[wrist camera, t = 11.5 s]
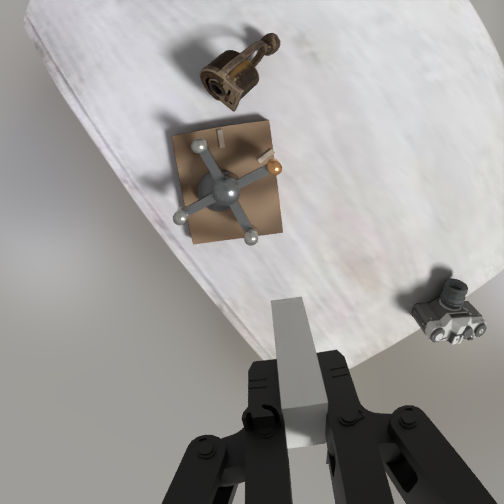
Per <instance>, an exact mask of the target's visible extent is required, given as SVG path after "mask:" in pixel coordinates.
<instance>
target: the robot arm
mask: <svg viewBox="0 0 504 504" xmlns="http://www.w3.org/2000/svg"><path fill="white" fill-rule="evenodd" d="M271 306H272V316H273V326H274V336H275V346H276V356H277V359H273V360H264V361H256V362H253V363H252V365H251V367H250V369H249V371H248V381H249V382H248V407H247V409H246V410H245V411H244V412H243V415H242V421H243V425H244V428H243V429H242V430H240V431H239V432H238V433H236V434H233V435H231V436H228V437H224V438H222V439H220V438H219V437H216V436H214V435H203V436H199V437H197V438H195V439H194V440H192V441H191V443H190V444H189V445H188V448H187V450H186V452H185V454H184V456H183V458H182V461H181V463H180V465H179V467H178V470H177V472H176V474H175V476H174V478H173V480H172V482H171V485H170V487H169V489H168V491H167V493H166V496H165V498H164V500H163V502H162V504H232V502H233V499H234V496H235V493H236V490H237V486H238V484H239V483H241V482H245V504H293V502H292V490H291V481H290V480H291V479H290V469H289V459H288V448H296V447H304V446H311V445H317V444H324V443H326V442H327V448H328V451H327V461H326V464H329V469H330V474H331V480H332V486H333V492H334V498H335V504H394V501H393V498H392V494H391V490H390V487H389V483H388V480H387V476H386V473H387V474H388V476H389V477H390V479H391V481H392V482H393V484H394V485H395V487H396V489H397V490H398V492H399V493H400V495H401V496H402V498H403V499H404V501H405V503H406V504H497V503H496V501H495V500H494V499H493V497H492V496H491V495H490V494H489V492H488V491H487V490H486V488H484V486H483V485H482V483H481V482H480V481H479V480H478V478H477V477H476V476H475V474H474V473H473V472H472V471H471V469H470V468H469V467H468V466H467V464H466V463H465V462H464V461H463V459H462V458H461V457H460V456H459V455H458V453H457V452H456V451H455V449H454V448H453V447H452V446H451V445H450V443H449V442H448V441H447V440H446V438H445V437H444V436H443V435H442V434H441V432H440V431H439V430H438V429H437V427H436V426H435V425H434V424H433V423H432V421H431V420H430V419H429V418H428V417H427V416H426V414H425V413H424V412H423V411H422V410H421V409H420V408H418V407H415V406H409V405H405V406H402V407H399V408H398V409H397V410H395V411H394V412H393V414H381V413H373V412H370V411H368V410H366V409H365V408H364V407H363V406H362V405H361V404H360V402H359V399H358V396H357V393H356V390H355V387H354V384H353V381H352V378H351V375H350V372H349V369H348V366H347V363H346V360H345V357H344V356H343V355H342V354H341V353H340V352H339V351H338V350H332V351H326V352H319V353H316V350H315V346H314V342H313V338H312V334H311V330H310V326H309V323H308V319H307V315H306V311H305V307H304V303H303V300H302V297H296V298H289V299H281V300H273V301H271ZM385 471H386V472H385Z"/></svg>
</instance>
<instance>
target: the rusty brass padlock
mask: <svg viewBox="0 0 504 504" xmlns="http://www.w3.org/2000/svg"><path fill="white" fill-rule="evenodd" d="M279 47H280V40H279V38H278V36H277V35H276V34H274V33H269V34H266V35H265V36H264V37H263V38H262V39H261V41H258V42H256V43H254V44H252V45H251V46H249V47H248V48H246V49H245V50H244V51H242V52H241V53H239V52H236V51H233V50H227V51H225V52H224V53H222V54H221V55H219V56H218V57H217V58H216V59H215V60H213V61H212V62H211V63H210V64H208V65H207V66H206V67H204V68H203V69H202V70H201V72H200V78H201V81H202V83H203V84H204V86H205V88H206V89H207V91H208V92H209V94H210V95H212V96H213V98H215V99H216V100H220V101H221V102H222V103H224V104H225V105H226V106H227V107H228V108H230V109H231V110H232V111H233V112H234V111H235V110H236V108H237V106H238V104H239V101H240V99H241V98H243V97H244V96H245V95H246V94H247V93H248V92H249V91H250V90H251V89H252V88H253V87H254V86H255V85H257V83H258V81H259V75H258V72H257V70H256V68H255V66H256V65H257V64H258V63H259V62H260V61H261V59H262V58H263V56H264V55H266V56H269V55H271V54H273V53H275V52H276V51H277V50H278V49H279ZM258 48H260V49H259V51H258V52H257V54H256V56H255V57H254V58H253V59H252V61H251V62H250V60H249V59H248V58H247V57H249V56H250V55H251V54H252V53H254V52H255V51H256V50H257V49H258Z"/></svg>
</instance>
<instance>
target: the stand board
mask: <svg viewBox="0 0 504 504" xmlns="http://www.w3.org/2000/svg"><path fill="white" fill-rule="evenodd" d="M199 138H205V139H207V140H208V143H209V146H208V148H209V150H210V151H211V153H212V155H213V157H214V158H215V160H216V162H217V164H218V165H219V167H220V169H224V170H227V171H229V172H231V173H234V174H236V175H237V176H238V177H239V178H240V177H242V176H244V175H245V174H247V173H249V172H251V171H253V170H255V169H257V168H259V167H261V166H263V165H265V164H266V163H267V161H268V160H269V159H272V158H274V153H275V152H274V151H273V146H272V138H271V131H270V123H269V120H267V121H259V122H251V123H244V124H237V125H230V126H224V127H218V128H212V129H206V130H200V131H195V132H190V133H184V134H179V135H175V136H172V140H173V146H174V151H175V157H176V162H177V168H178V173H179V178H180V184H181V189H182V194H183V199H184V204H185V206H188V205H190V204H192V203H193V202H195V201H197V200H199V196H198V185H199V183H200V181H201V179H202V178H203V177H204V176H205V175H206V174H207V173H208V172H210V171H209V169H208V167H207V166H206V164H205V162H204V161H203V159H202V157H201V155H200V154H199V153H195V152H193V150H192V149H191V144H192V142H193V141H194V140H196V139H199ZM238 201H239V203H240V204H241V206H242V208H243V210H244V212H245V213H246V215H247V217H248V219H249V221H250V222H251V224H252V225H254V226H255V227H256V228H257V231H258V236H260V235H268V234H276V233H283V229H282V220H281V211H280V203H279V194H278V186H277V178H276V175H271V174H268V175H266V176H264V177H262V178H260V179H258V180H256V181H254V182H253V183H251V184H249V185H247V186H245V187H243V188H241V189H240V195H239V198H238ZM188 223H189V228H190V232H191V237H192V242H193V244H200V243H207V242H215V241H222V240H230V239H237V238H244V236H245V232H244V230H243V229H242V227H241V225H240V223H239V222H238V220H237V218H236V216H235V215H234V213H233V211H232V209H231V208H230V209H228V210H225V211H219V212H218V211H212V210H210V209H208V208H206V207H205V208H203V209H201V210H200V211H198V212H196V213H194V214H192V215H190V216H189V217H188Z"/></svg>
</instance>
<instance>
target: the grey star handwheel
mask: <svg viewBox="0 0 504 504" xmlns="http://www.w3.org/2000/svg"><path fill="white" fill-rule="evenodd" d="M208 146H209V143H208V140H207V139H205V138H199V139H196V140H194V141H193V142H192V144H191V149H192V150H193V152H195V153H199V154H200V155H201V157H202V159H203V161H204V162H205V164H206V166H207V167H208V169H209V171H210V172H208V173H207V174H206V175H205V176H204V177H203V178H202V179H201V181H200V183H199V185H198V196H199V200H197V201H195V202H193V203H192V204H190V205H188V206H181V207H180V208H179V209H178V210H177V212H176V213H175V214H174V216H173V221H174V223H175V224H177V225H183V224H184V223H185V222H186V220H187V218H188V217H189V216H190V215H192V214H194V213H196V212H198V211H200V210H201V209H203V208H205V207H206V208H208V209H210V210H212V211H218V212H219V211H225V210H228V209H230V208H231V209H232V211H233V213H234V215H235V216H236V218H237V220H238V222H239V223H240V225H241V227H242V229H243V230H244V232H245V236H244V240H245V243H246V244H248V245H255V244H256V243H257V241H258V231H257V228H256V227H255V226H254V225H252V224H251V222H250V221H249V219H248V217H247V215H246V213H245V212H244V210H243V208H242V206H241V204H240V203H239V201H238V198H239V195H240V189H241V188H243V187H245V186H247V185H249V184H251V183H253V182H254V181H256V180H258V179H260V178H262V177H264V176H266V175H268V174H271V175H278V174H280V173H281V171H282V166H281V164H280V163H279V161H278V160H277V159H274V158H272V159H269V160H268V161H267V163H266V164H265V165H263V166H261V167H259V168H257V169H255V170H253V171H251V172H249V173H247V174H245V175H244V176H242V177H240V178H239V177H238V176H237V175H236V174H234V173H231V172H229V171H227V170H224V169H220V167H219V165H218V164H217V162H216V160H215V158H214V157H213V155H212V153H211V151H210V150H209V148H208Z"/></svg>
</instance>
